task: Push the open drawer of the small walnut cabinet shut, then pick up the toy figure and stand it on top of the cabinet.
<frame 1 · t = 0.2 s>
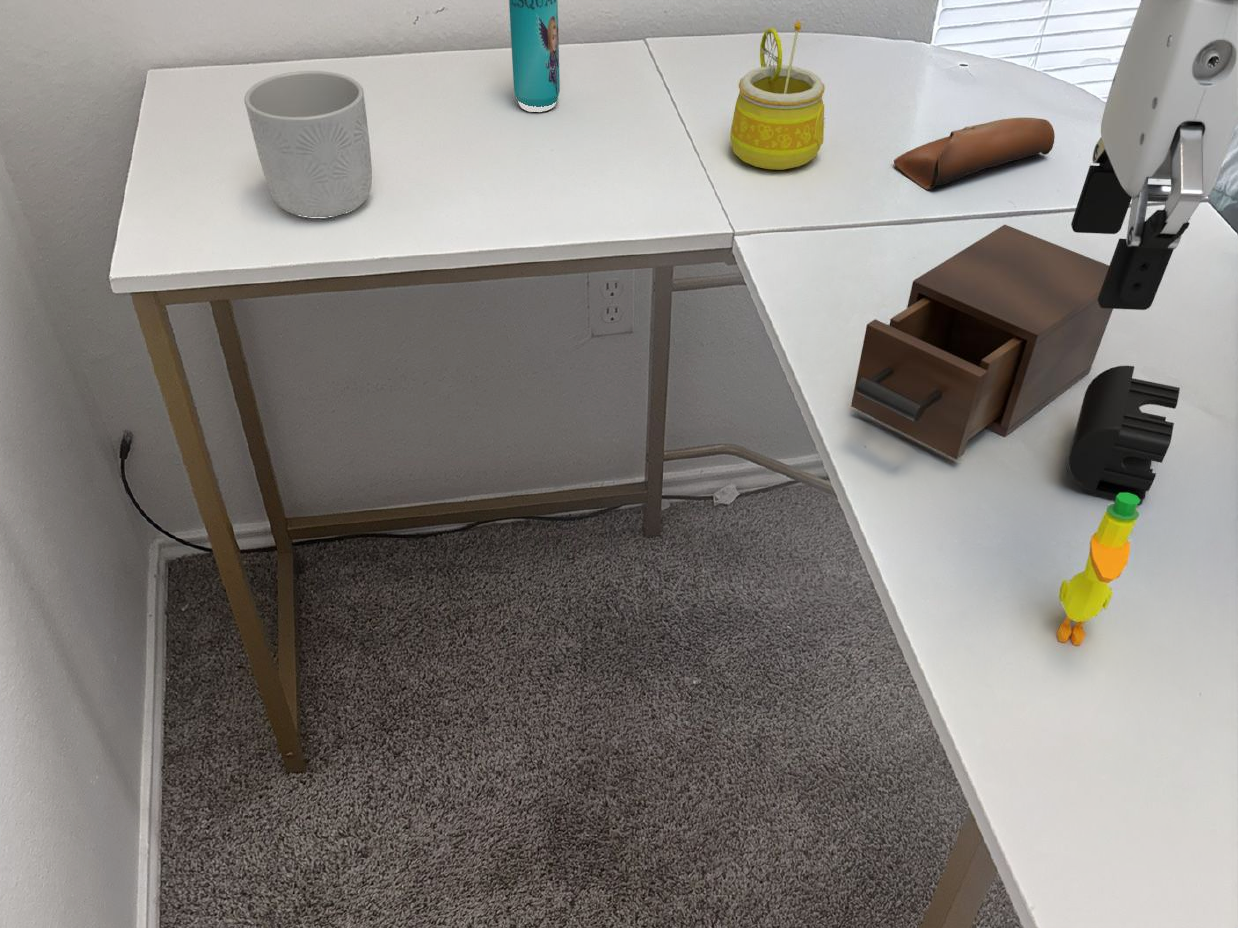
hand: (1107, 267, 74), 23 cm above the table, tool pointing down, fingers open, 9 cm apart
cabinet: (990, 377, 108), on the table
planter: (324, 204, 129), on the table
drawer: (942, 371, 100), point 5 cm above the table, slide at 6.0 cm
beverage can: (537, 107, 144), on the table
yellow patterned pot: (776, 154, 137), on the table
end cap: (1104, 469, 100), on the table
sunglasses case: (969, 165, 135), on the table
toy figure: (1068, 638, 87), on the table
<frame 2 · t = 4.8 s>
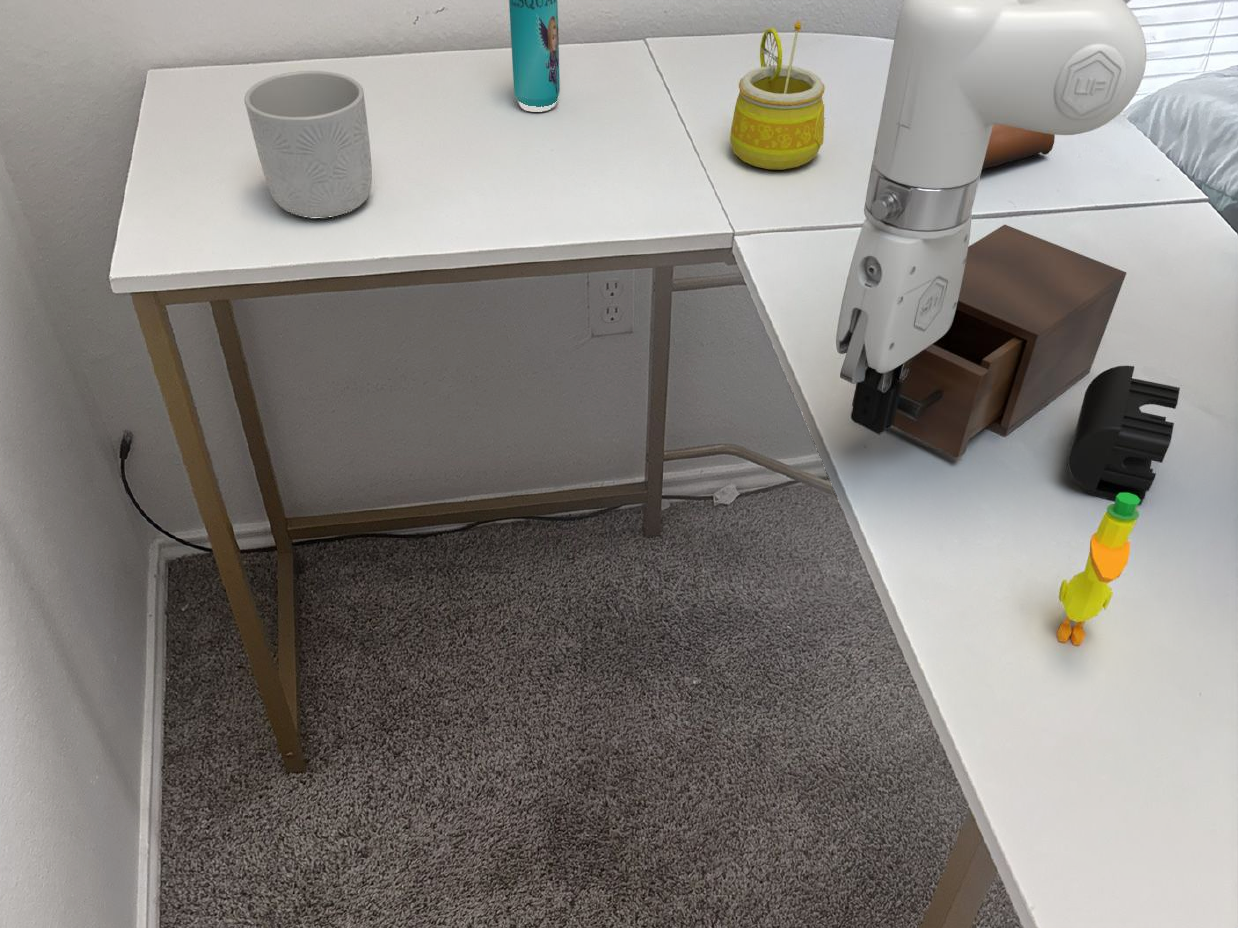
hand: (871, 423, 96), 5 cm above the table, tool pointing down, fingers closed
drawer: (943, 370, 100), point 5 cm above the table, slide at 5.8 cm, touching gripper
everything else where it was.
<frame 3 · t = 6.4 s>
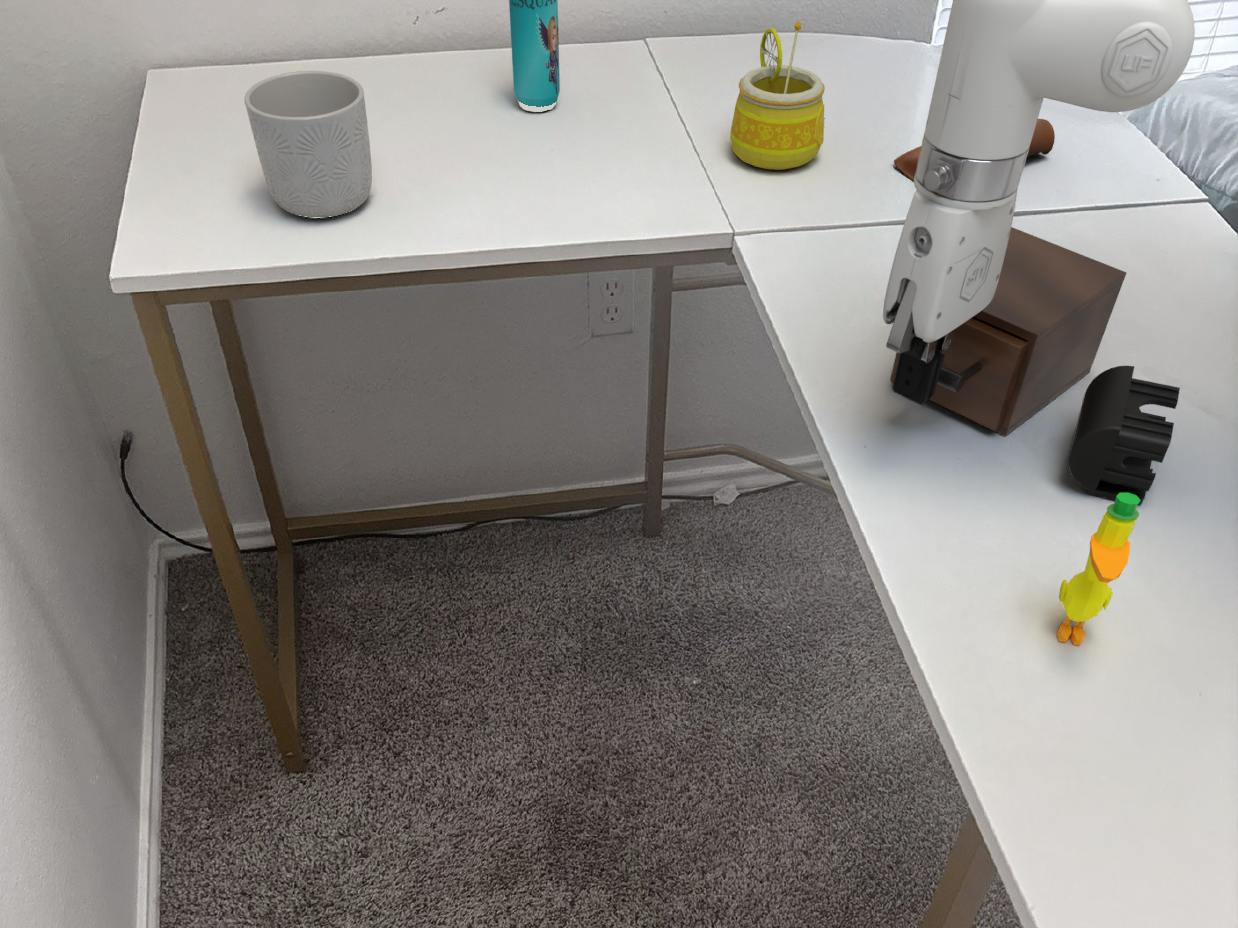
hand: (912, 394, 98), 5 cm above the table, tool pointing down, fingers closed
drawer: (981, 344, 102), point 5 cm above the table, slide at 0.0 cm, touching cabinet, gripper
everything else where it was.
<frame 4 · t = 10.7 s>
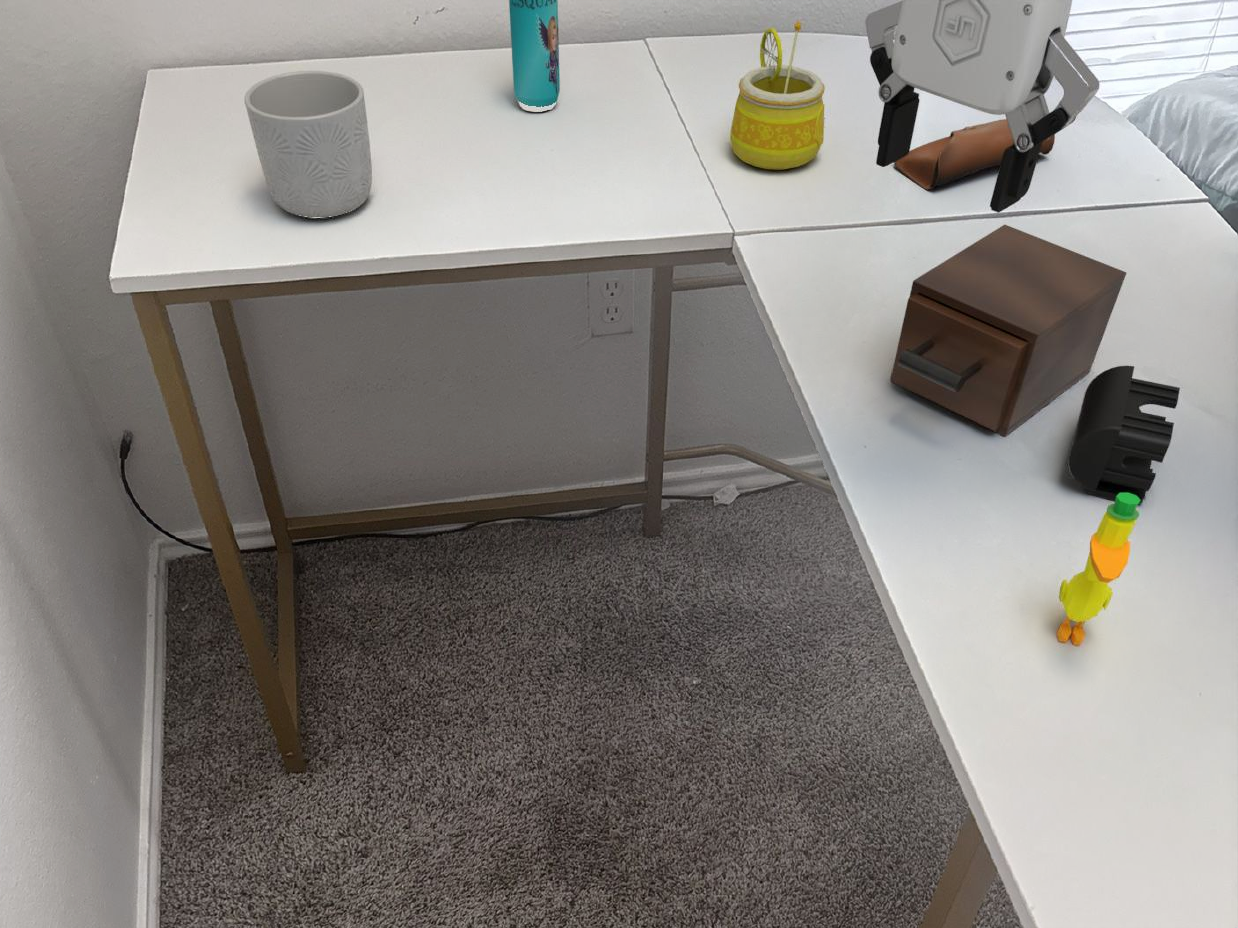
hand: (947, 182, 81), 23 cm above the table, tool pointing down, fingers open, 9 cm apart
drawer: (981, 344, 102), point 5 cm above the table, slide at 0.0 cm, touching cabinet
everything else where it was.
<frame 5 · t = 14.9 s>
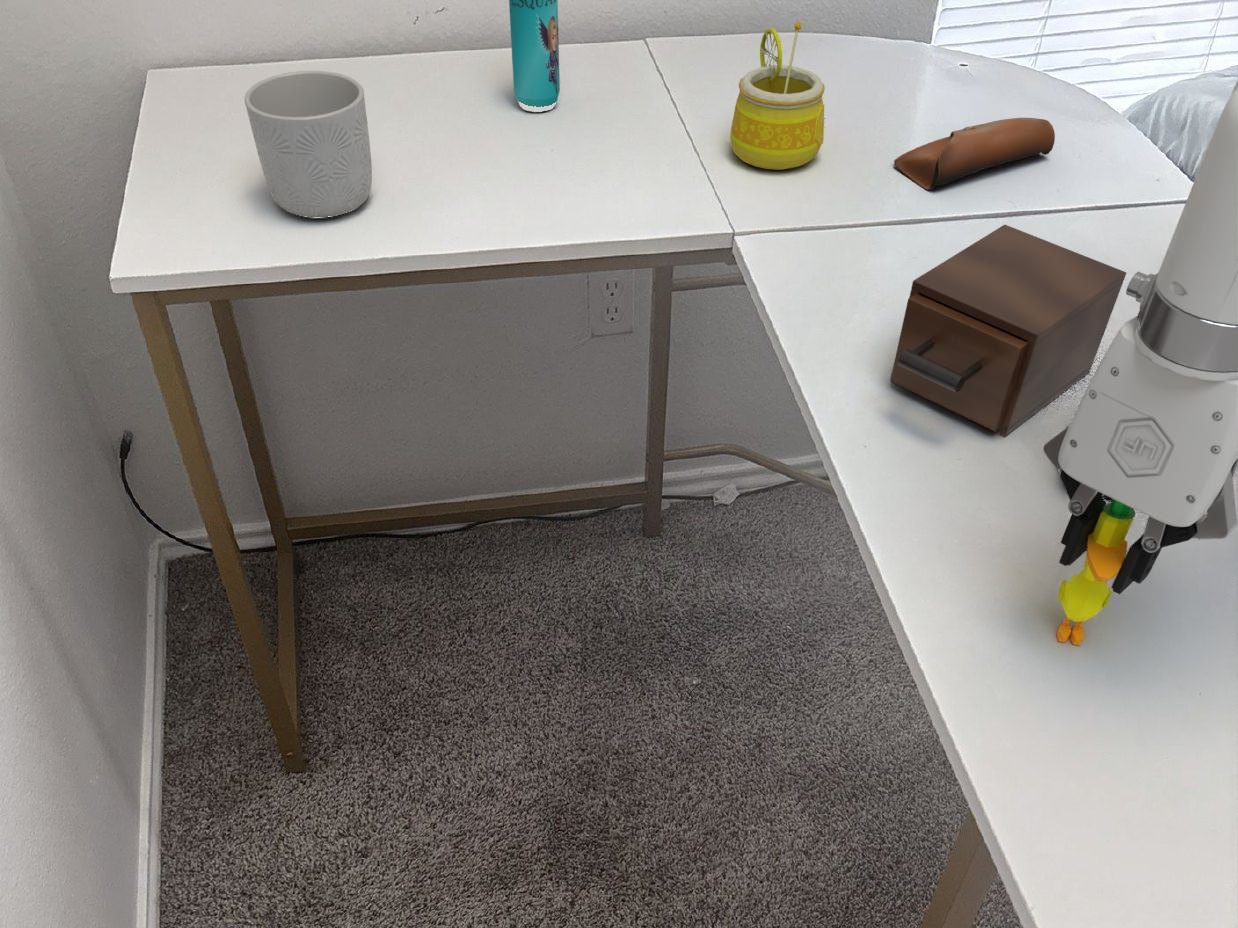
hand: (1099, 567, 81), 7 cm above the table, tool pointing down, fingers closed on toy figure, 3 cm apart
toy figure: (1068, 638, 87), on the table, touching gripper
everything else where it was.
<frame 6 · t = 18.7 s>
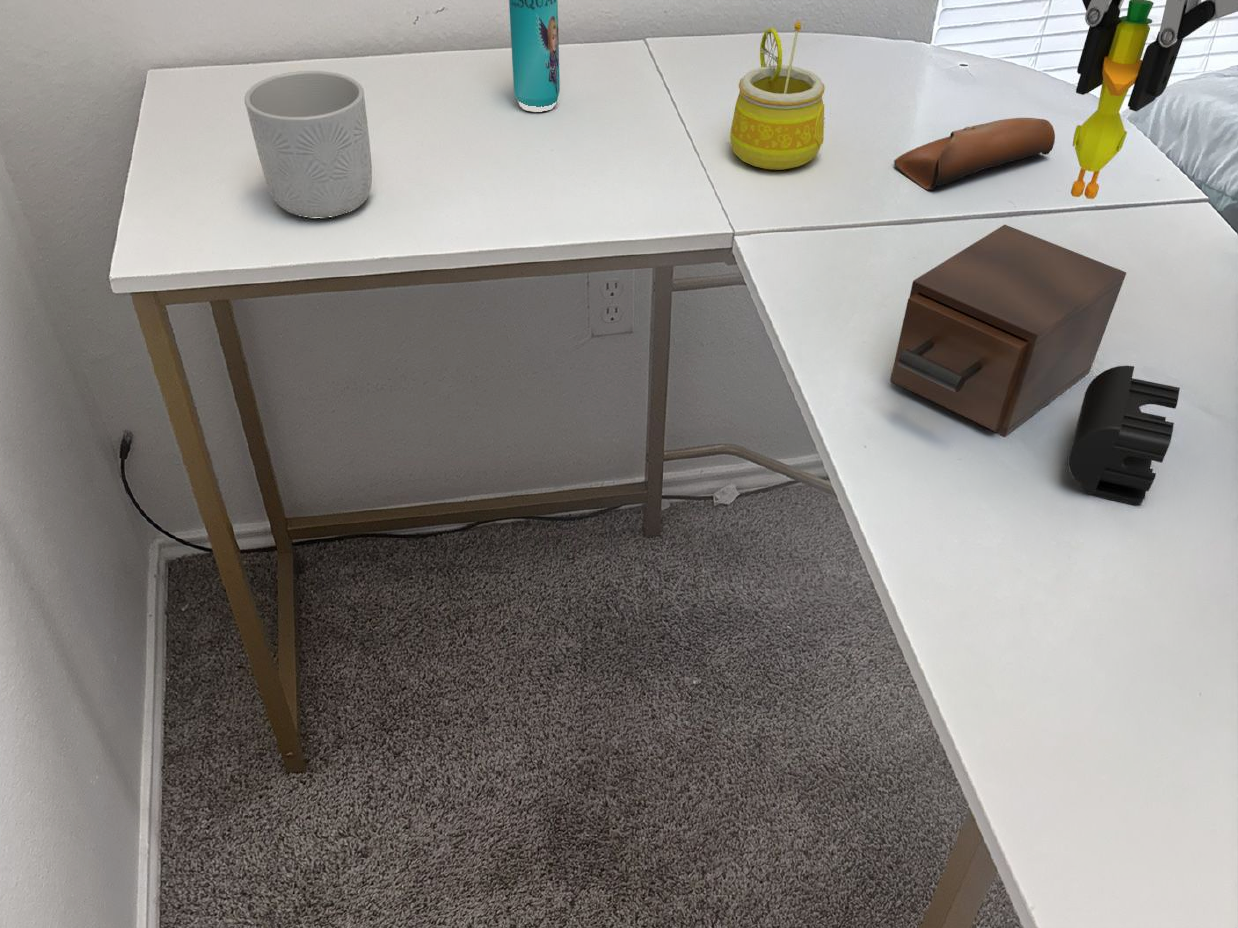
hand: (1116, 93, 81), 27 cm above the table, tool pointing down, fingers closed on toy figure, 3 cm apart
toy figure: (1082, 195, 86), point 20 cm above the table, touching gripper
everything else where it was.
when the fingers open (16 cm above the table, at t = 22.9 s): toy figure stays where it is, resting on cabinet.
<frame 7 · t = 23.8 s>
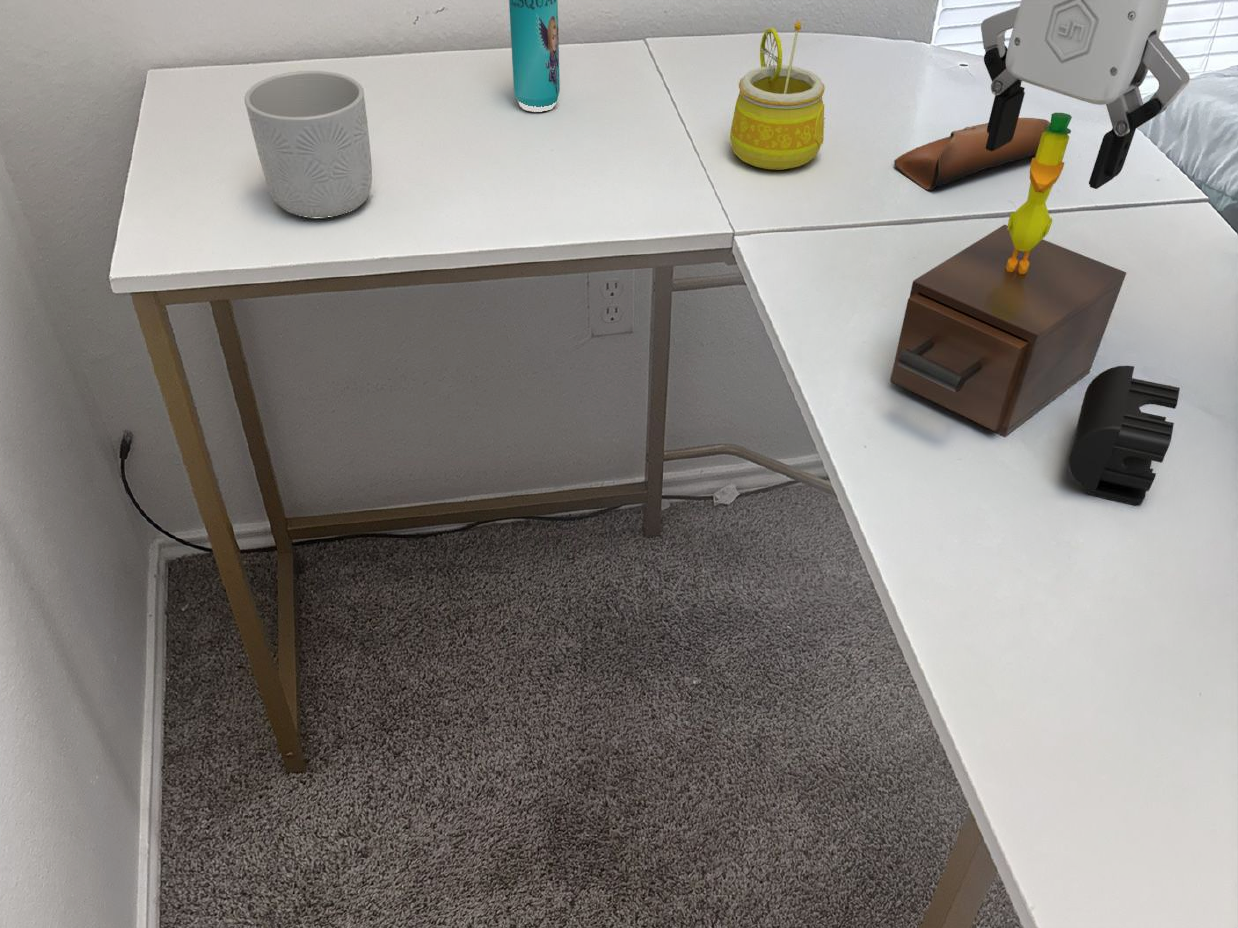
hand: (1048, 163, 94), 18 cm above the table, tool pointing down, fingers open, 9 cm apart
toy figure: (1015, 270, 101), point 9 cm above the table, touching cabinet
everything else where it was.
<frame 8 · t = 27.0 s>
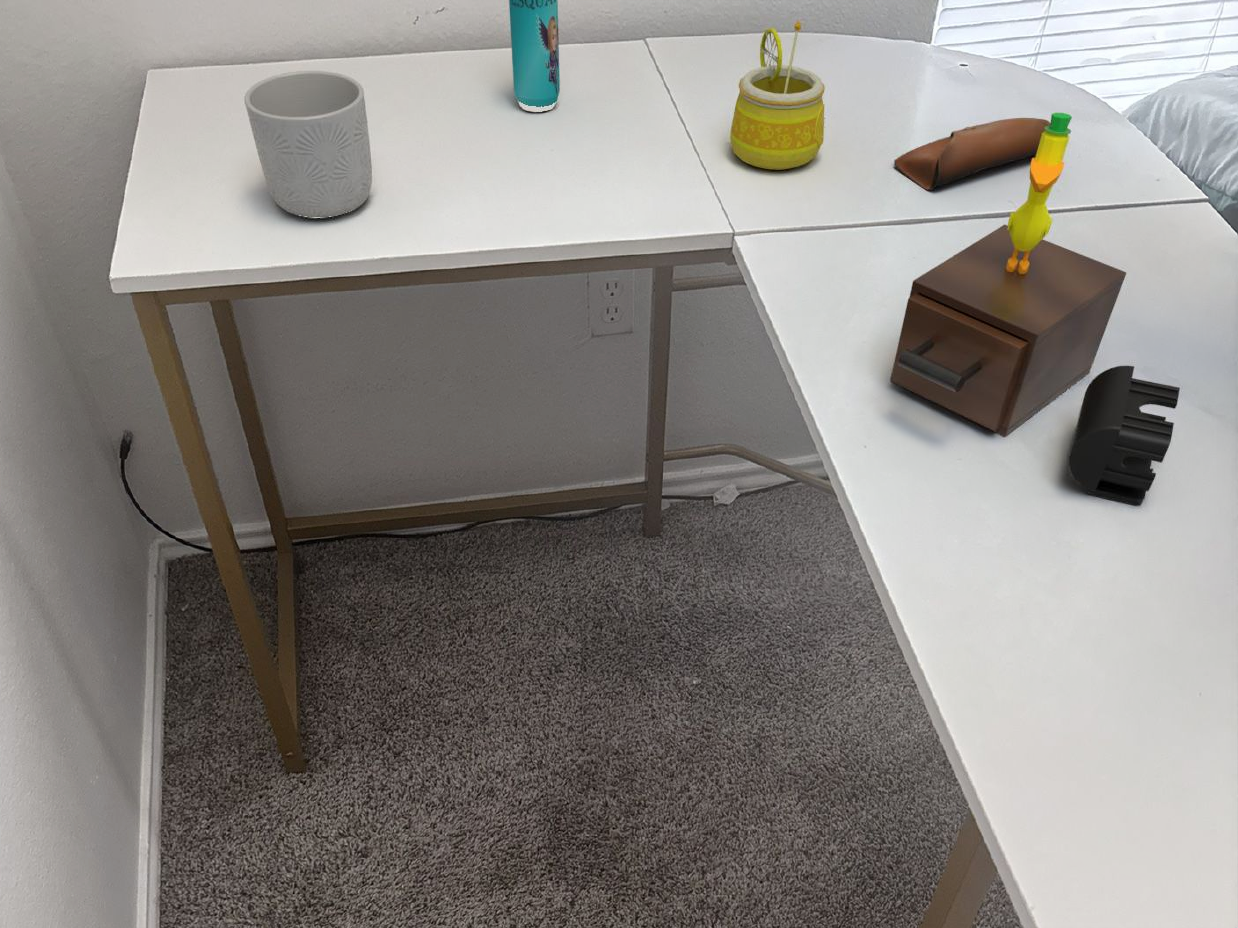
nothing on the table moved.
at the end: drawer slide at 0.0 cm; toy figure inside the target area on the cabinet (1.3 cm from its centre), point 9.4 cm above the cabinet's base; toy figure tilted 0° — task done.
